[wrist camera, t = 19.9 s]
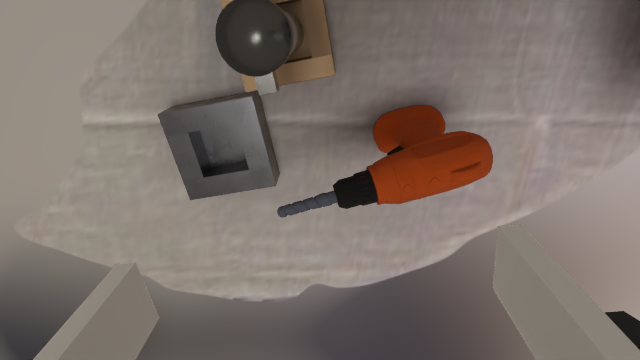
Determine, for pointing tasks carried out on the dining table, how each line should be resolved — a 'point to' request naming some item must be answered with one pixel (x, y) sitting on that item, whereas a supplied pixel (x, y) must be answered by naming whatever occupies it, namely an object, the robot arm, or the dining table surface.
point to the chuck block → (221, 145)
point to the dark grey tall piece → (258, 39)
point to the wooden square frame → (302, 45)
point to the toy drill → (408, 163)
